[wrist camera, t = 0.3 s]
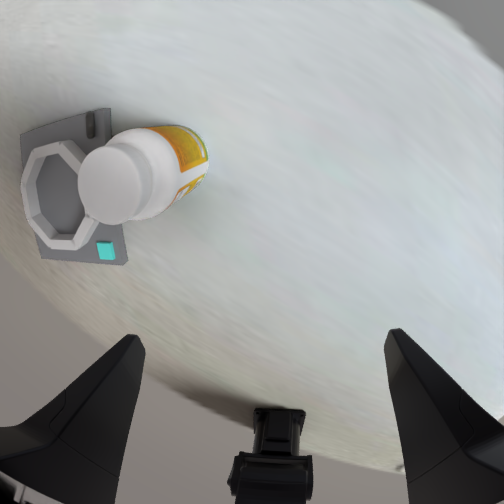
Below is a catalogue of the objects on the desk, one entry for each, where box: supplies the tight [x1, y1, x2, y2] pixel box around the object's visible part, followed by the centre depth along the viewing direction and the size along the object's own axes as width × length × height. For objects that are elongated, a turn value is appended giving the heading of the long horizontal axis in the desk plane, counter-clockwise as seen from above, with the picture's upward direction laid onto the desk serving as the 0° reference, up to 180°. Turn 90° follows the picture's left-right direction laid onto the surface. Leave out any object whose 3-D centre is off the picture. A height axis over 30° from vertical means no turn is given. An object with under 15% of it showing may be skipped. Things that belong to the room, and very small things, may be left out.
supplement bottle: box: [78, 126, 209, 225], centre depth 17 cm, size 5×5×10 cm
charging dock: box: [20, 108, 128, 265], centre depth 22 cm, size 14×12×2 cm
